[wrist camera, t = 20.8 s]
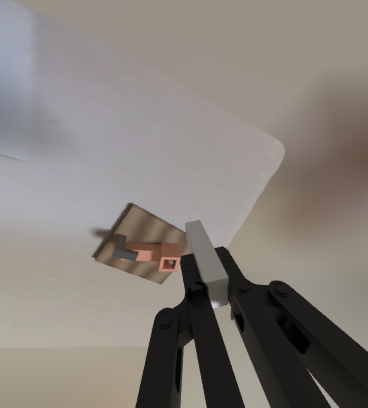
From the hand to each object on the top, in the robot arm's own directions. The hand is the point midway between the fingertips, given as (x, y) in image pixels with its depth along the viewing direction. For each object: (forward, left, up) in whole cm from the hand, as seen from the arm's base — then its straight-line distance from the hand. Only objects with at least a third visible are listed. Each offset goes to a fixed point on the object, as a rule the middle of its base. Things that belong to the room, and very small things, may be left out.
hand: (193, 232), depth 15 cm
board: (+9, -24, -26) cm, 37 cm away
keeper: (+2, -23, -26) cm, 35 cm away
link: (+9, -23, -25) cm, 35 cm away
